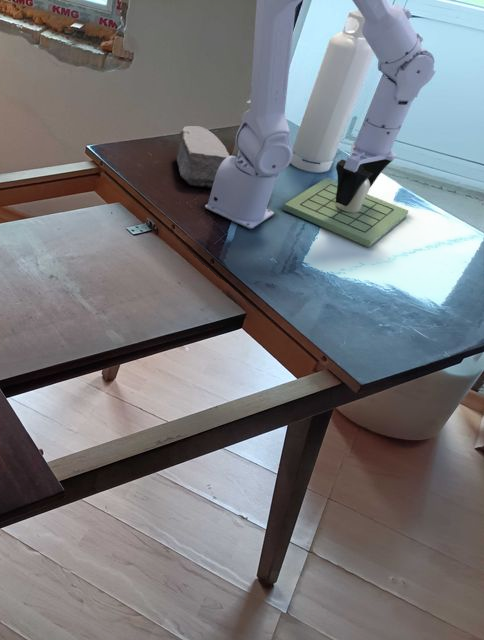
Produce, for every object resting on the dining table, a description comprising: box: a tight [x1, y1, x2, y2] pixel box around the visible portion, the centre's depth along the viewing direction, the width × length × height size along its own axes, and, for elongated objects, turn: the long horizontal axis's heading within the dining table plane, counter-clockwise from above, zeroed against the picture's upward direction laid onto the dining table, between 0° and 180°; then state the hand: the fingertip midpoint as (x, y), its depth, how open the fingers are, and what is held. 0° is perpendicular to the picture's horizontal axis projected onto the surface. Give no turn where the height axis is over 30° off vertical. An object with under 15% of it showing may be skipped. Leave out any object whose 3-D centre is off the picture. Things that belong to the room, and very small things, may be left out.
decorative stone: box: [176, 125, 230, 189], centre depth 129 cm, size 15×7×10 cm
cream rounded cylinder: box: [336, 178, 371, 213], centre depth 120 cm, size 4×4×6 cm
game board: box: [282, 177, 409, 248], centre depth 122 cm, size 16×16×1 cm
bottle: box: [290, 9, 375, 173], centre depth 128 cm, size 8×8×28 cm
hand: (351, 196), depth 121 cm, fingers open, 7 cm apart
